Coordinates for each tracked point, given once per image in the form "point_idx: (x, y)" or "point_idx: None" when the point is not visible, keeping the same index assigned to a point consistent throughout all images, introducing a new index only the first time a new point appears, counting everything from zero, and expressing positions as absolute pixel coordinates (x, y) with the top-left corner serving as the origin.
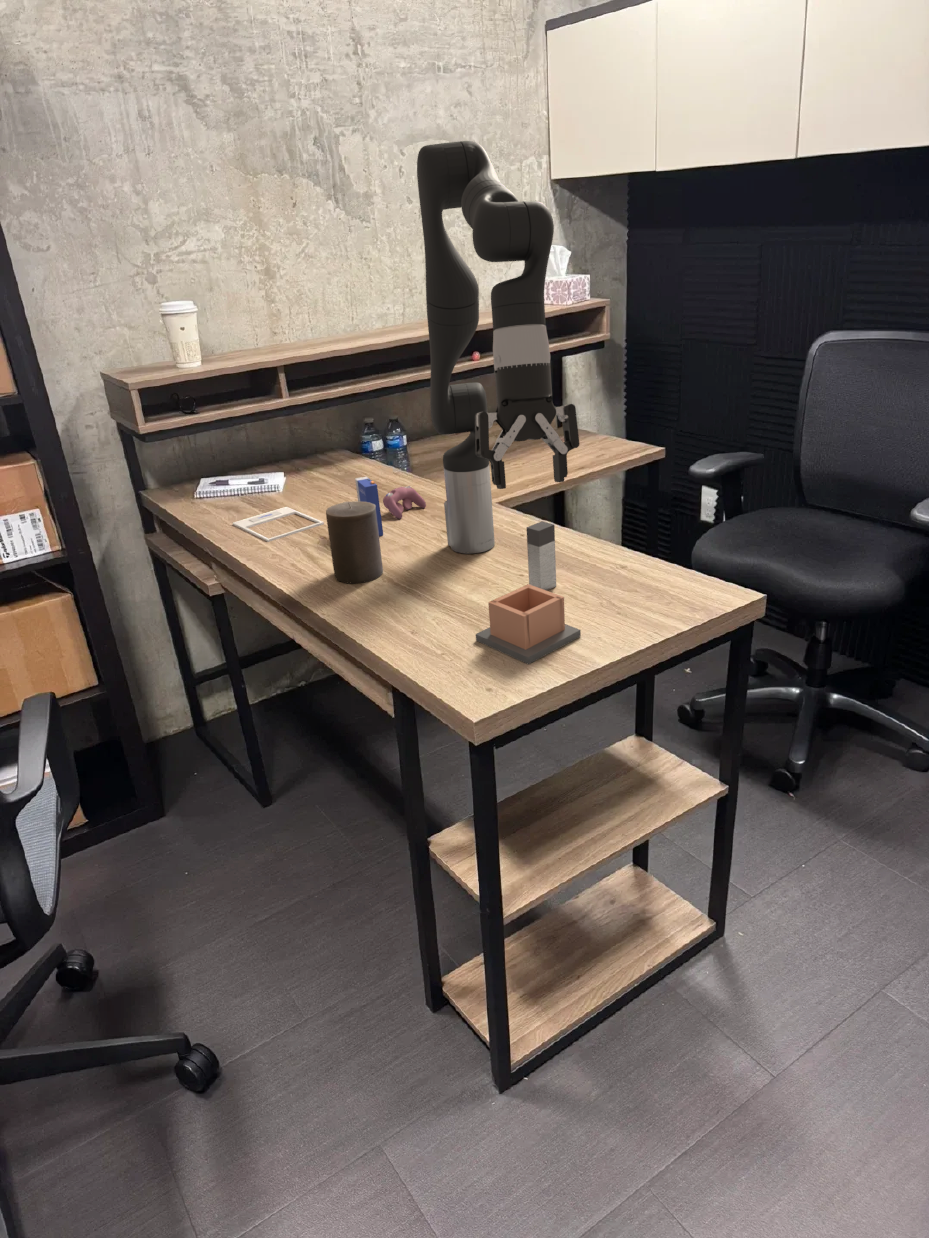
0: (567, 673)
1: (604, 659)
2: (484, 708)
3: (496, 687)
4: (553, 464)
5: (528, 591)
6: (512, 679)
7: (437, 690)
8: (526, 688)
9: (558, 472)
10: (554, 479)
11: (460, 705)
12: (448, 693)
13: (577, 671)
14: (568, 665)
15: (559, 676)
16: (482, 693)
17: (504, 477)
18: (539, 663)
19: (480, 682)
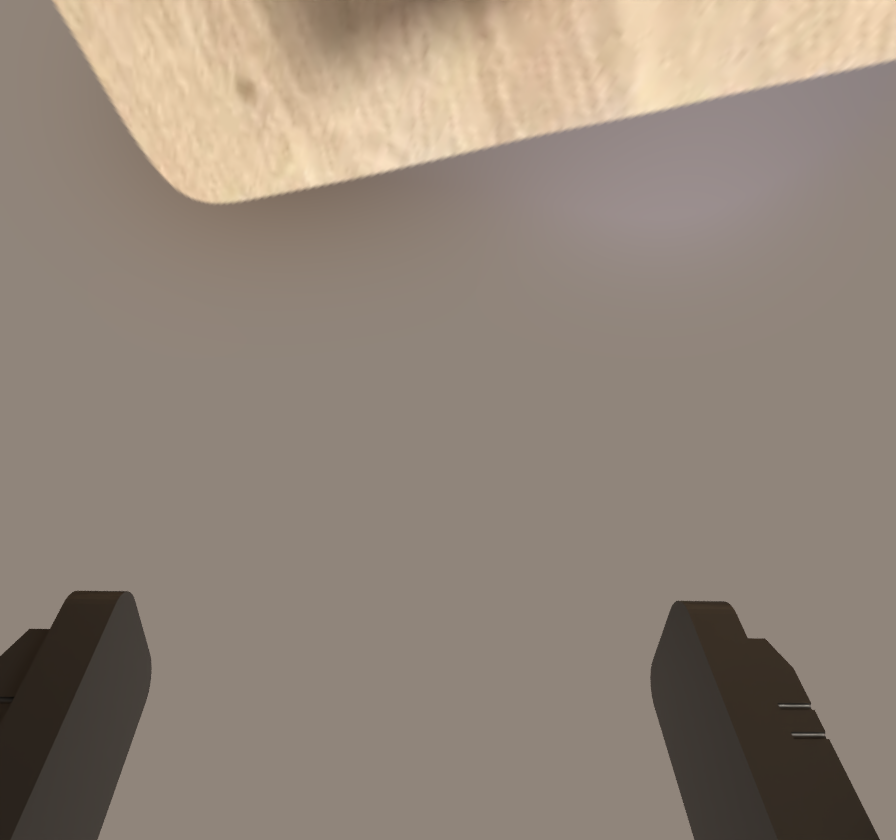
0: (509, 114)
1: (662, 88)
2: (217, 178)
3: (271, 87)
4: (735, 750)
5: None
6: (333, 64)
7: (70, 10)
8: (358, 136)
9: (675, 748)
10: (684, 610)
11: (148, 134)
12: (110, 48)
13: (542, 117)
14: (538, 67)
15: (478, 119)
16: (222, 101)
17: (113, 770)
18: (457, 2)
19: (224, 30)
